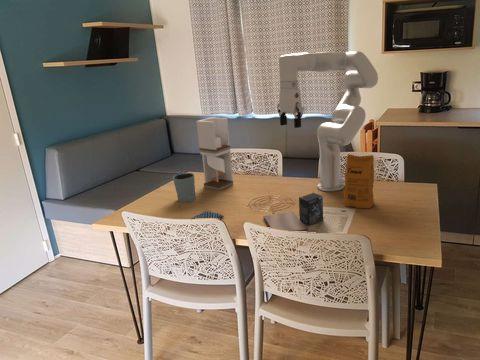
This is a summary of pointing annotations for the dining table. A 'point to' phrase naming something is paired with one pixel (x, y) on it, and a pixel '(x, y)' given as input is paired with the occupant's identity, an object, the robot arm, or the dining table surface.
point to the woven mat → (209, 215)
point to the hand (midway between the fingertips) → (290, 126)
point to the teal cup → (185, 187)
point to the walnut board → (285, 222)
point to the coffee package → (359, 181)
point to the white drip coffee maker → (215, 152)
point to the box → (311, 208)
